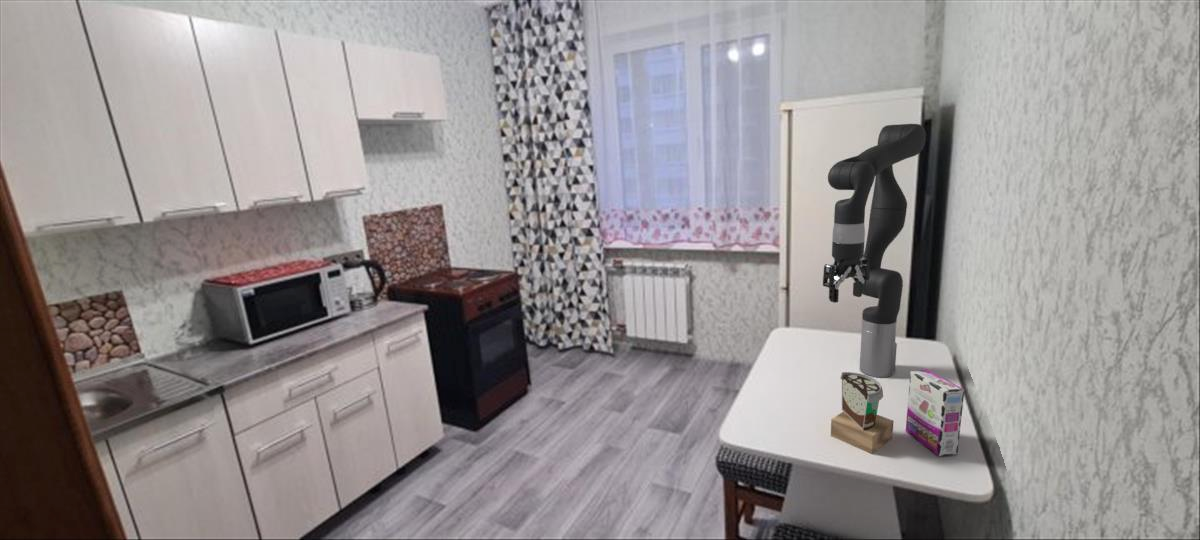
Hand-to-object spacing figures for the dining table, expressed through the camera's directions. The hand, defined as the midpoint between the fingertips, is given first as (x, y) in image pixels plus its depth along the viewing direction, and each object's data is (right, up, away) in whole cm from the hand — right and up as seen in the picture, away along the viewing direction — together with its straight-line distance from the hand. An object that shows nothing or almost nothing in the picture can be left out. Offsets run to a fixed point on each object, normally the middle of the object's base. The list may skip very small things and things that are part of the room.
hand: (845, 299), depth 131 cm
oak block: (-1, -34, -10) cm, 35 cm away
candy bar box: (+13, -34, -15) cm, 39 cm away
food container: (-1, -29, -11) cm, 31 cm away
